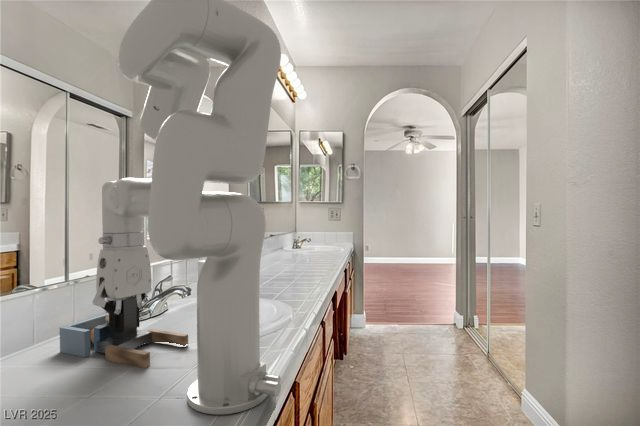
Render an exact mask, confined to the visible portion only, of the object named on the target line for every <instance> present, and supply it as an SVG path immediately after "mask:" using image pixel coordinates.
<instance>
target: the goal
mask: <svg viewBox="0 0 640 426" xmlns="http://www.w3.org/2000/svg"><path fill="white" fill-rule="evenodd" d="M108 314H109V313H104V314H100V315H97V316H94V317H90V318H87V319H83V320H81V321H77V322H74V323H70V324H67V325H64V326H59V352H60V353H62V354H63V353H64V354H68V355H73V356H78V357H80V358H81V357H83V358H86V357H88V356H89V357H90V356H91V344H93V342H92V341H91V339H90V333H91V331H92V330H93V329H94V327H97V326H99V325H103V324H106V321H105V318H106V316H107V315H108Z"/></svg>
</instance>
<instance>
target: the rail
mask: <svg viewBox="0 0 640 426" xmlns="http://www.w3.org/2000/svg"><path fill="white" fill-rule="evenodd" d="M147 331H149V332H152V341H151V342H169V343H176V344H180V345H183V346H185V345H186V344H188V345H189V334H187V333H182V332H176V331H175V332H174V331H167V330H161V329H154V328H151V329H148V330H147ZM104 354H105V358H104V359H105V361H107V362H114V363H118V364H122V365H126V366H127V365H128V366H133V367H139V368H141V369H146V368H148V367H150V366H151V352H150V351H145V350H141V349H136V348H135V349H130V348H125V347H119V346H114V345H109V346H107V347H105V353H104Z"/></svg>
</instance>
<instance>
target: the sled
mask: <svg viewBox="0 0 640 426" xmlns="http://www.w3.org/2000/svg"><path fill="white" fill-rule="evenodd" d="M114 302H115V301H113V305H114ZM120 313H123V333H120V334H119V333H113V332H110V330H109V314H108V315H107V316H106V318H105V321H106V324H103V325H100V326H97V327H94V343H93V349H94V350H95V352H97V353H102V354H105V347H107V346H109V345H114V346H119V347H125V348H130V349H135V350H136V349H137V348H139V347H141V346H140V345H142V344H144V343H146V344H148V343H147V342H149V343H150V342H151V341H152V332H149V331H148V330H143V329H138V327H137V297H128V298H124V299H122V301H121V312H120ZM144 345H145V344H144ZM138 346H139V347H138ZM142 346H143V345H142Z"/></svg>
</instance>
